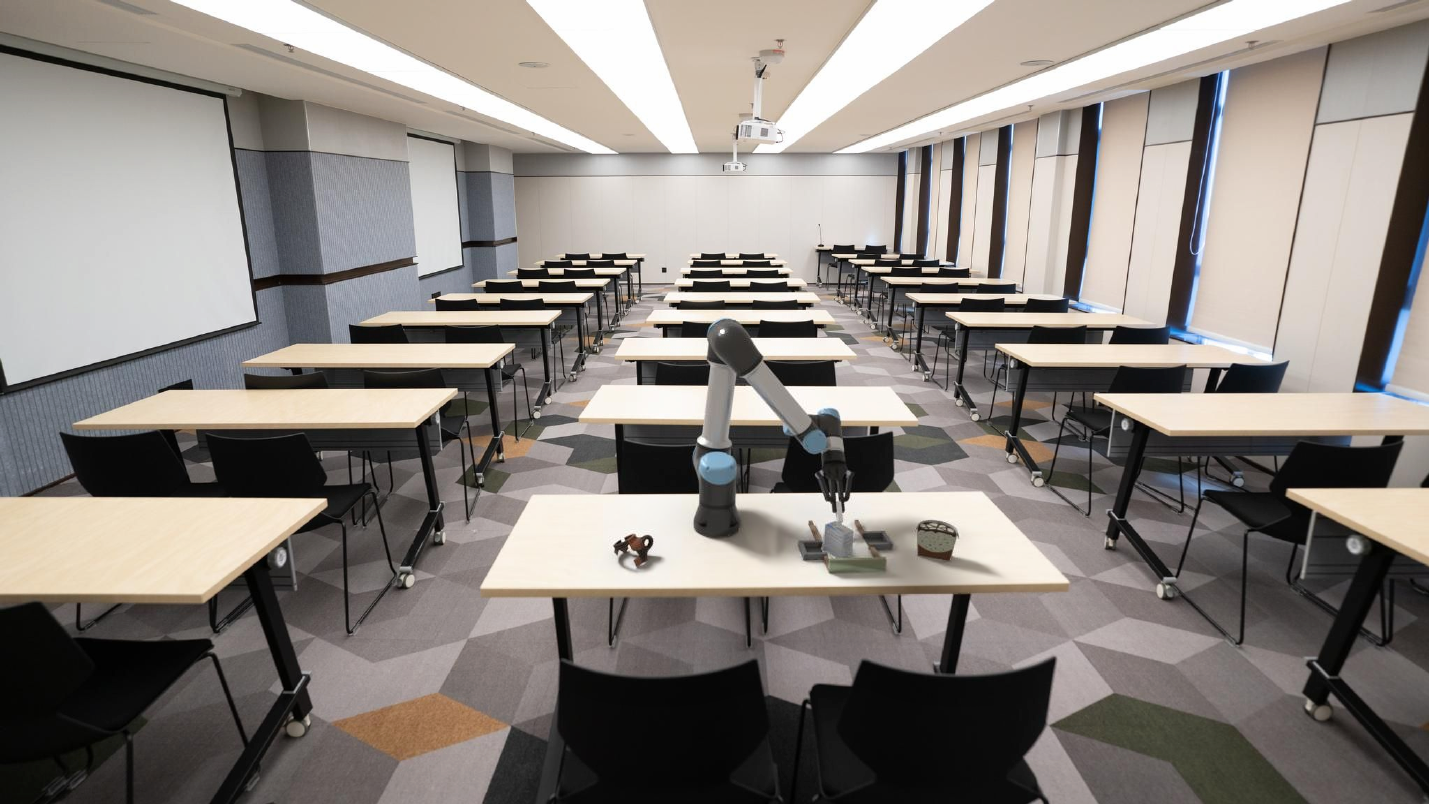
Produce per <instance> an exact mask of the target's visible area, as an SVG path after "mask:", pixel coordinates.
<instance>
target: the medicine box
mask: <svg viewBox="0 0 1429 804" xmlns="http://www.w3.org/2000/svg"><path fill="white" fill-rule="evenodd" d="M824 525H825V526H824V535H823V536H824V537H823V551H825V552H827V553H828V554H831V555H832V556H834V557H835V558H852V556H853V546H854V533H855V531H854V529H852V528H849V527H847V526H846V525H844V524H843V523H841V524H840V523H838V522H836V520H834V521H832V522H828V523H826V524H824Z"/></svg>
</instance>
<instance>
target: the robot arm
mask: <svg viewBox="0 0 1429 804" xmlns="http://www.w3.org/2000/svg"><path fill="white" fill-rule="evenodd" d="M706 340H707V343H708V344H707V352H706V353H707V354H706V361H707V362H708V364H709V365H710V369H709V376H708V384H707V385H708V386H707V393H706V401H705V402H706V403H705V407H704V410H705V411H704V417H703V418H704V419H703V425H702V433H701V435H700V436H698V437H697V440H696V446H695V448H694V451H693V452H692V453H693V454H692V464H693V467H694V469H695V472H696V476H697V478H698V485H699V486H698V488H699V489H698V491H699V493H698V496H699V497H698V506H697V508H696V510H695V514H694V516H693V522H692V523H693V529H694V530H695V531H696V532H697V533H698V534H700V535H703V536H705V537H706V536H707V537H710V538H725V537H730V536H733V535H735V534H737V533H738V532H740V530H741V517H740V513H739V512H738V508H737V505H736V504H737V502H736V500H737V499H736V498H737V496H736V495H737V473H738V467H737V461H736V459H735V458H734V456H732V455H731V454H732V453H731V452H732V445H733V443H732V441H731V440H730V439H729V433H730V425H731V418H732V410H733V402H734V394H735V387H736V380H737V376H738V378H742V379H744V380H745V381H746V382H747V383H748V384H749V385H750V386H751V387H752V389H754V391H755V392H756V393H757V394H758V396H759V397H760V398H761V399H762V400H763V402H764V403H765V404H766V405H767V406H768V407H769V408H770V410H771V411H772V412H773V413H774V414H775V415H776V416H777V418H778V419H779V420H780V421H781V422H782V430H783V433H784V434H785V436H791V437H795V439H796V440H797V441H798V442H799V443H800V445H802V447H803V449H804V450H805V451H806V452H808V453H809V454H812V455H816V454H821V455H820V456H821V457H820V458H821V467H820V468H821V469H820V470H819V471H818V470H817V471H816V473H815V474H814V478H816V479H817V481H818V483H819V487H820V489H821V492H822V495H823V497H824V501H825V502H829V503H830V505H831V510H832V511H831V512H832V513H834V514H835V521H836V522H838V523H840V524H843V522H844V516H843V515H844V513H845V511H846V507H845V503H847V502H849V500H850V497H851V491H852V490H851V489H852V485H853V478H854V476H855V471H850V470H848V466H847V464H846V457H845V453H844V452H845V447H844V441H843V440H844V439H843V432H842V420H841V415H840V412H839V410H838V409H836V408H833V407H827V408H822V409H820V410H818V411H817V414H809V413H807V412H806V411H805V409H804V408H803V407H802V406H801V405H800V404H799V402H798V401H797V400H796V399H795V397H793V395H792V394H791V393H790V392H789V390H788V389H787V388H786V387H785V385H783V383H782V382H781V380H779V378H778V377H777V376H776V375H775V374H774V372H773V371H772V370H771V369H770V368H769V367H768V365H767V364H766V363H765V362H764V356H763V354H762V353H761V352H760V351H759V349H758V347H757V346H756V345H755V343H754V341H753V340H752V338H751V336H750V334H749V333H748V331H747V330H746V329H745V328H744V327H743V325H742V324H741V323H740V322H739V321H738V320H736V319H732V318H729V317H728V318H727V317H723V318H718V319H717V320H715V321H714V322H713V323H711V324H710V326H709V327H708V330H707V334H706ZM845 475H846V484H845V491H844V484H843V478H844V476H845ZM824 476H825V478H826V479H827V480H828V486H829V490H828V486H827V484H826V480H825V478H824ZM835 483H836V485H835ZM836 488H837V489H836ZM836 490H837V493H836ZM837 497H838V500H837Z"/></svg>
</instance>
